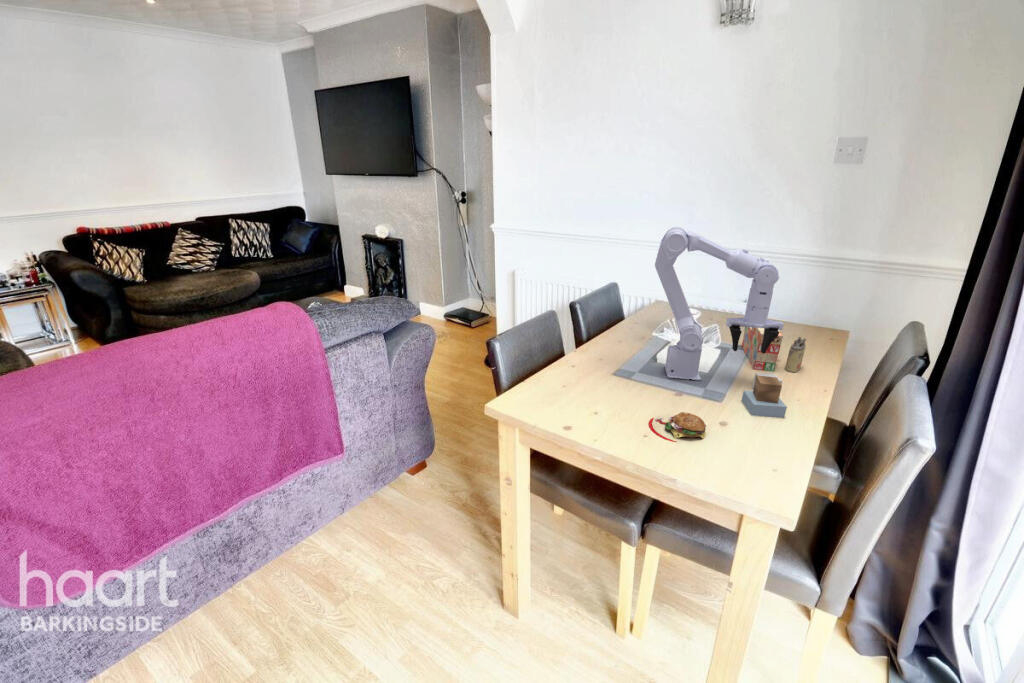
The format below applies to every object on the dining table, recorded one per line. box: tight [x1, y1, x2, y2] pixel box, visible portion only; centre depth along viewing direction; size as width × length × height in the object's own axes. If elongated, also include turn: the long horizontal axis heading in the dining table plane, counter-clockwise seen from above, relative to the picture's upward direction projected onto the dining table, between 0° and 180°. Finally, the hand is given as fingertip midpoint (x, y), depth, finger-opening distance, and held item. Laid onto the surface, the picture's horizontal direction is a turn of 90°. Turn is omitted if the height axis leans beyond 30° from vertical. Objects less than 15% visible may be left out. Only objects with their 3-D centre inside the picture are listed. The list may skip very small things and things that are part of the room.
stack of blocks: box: [741, 327, 784, 373], centre depth 157 cm, size 21×6×12 cm, turn 165°
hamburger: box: [647, 411, 707, 443], centre depth 116 cm, size 14×14×6 cm
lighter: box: [784, 336, 807, 373], centre depth 150 cm, size 7×4×10 cm, turn 137°
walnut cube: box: [752, 375, 783, 403], centre depth 125 cm, size 5×5×5 cm
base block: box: [741, 390, 788, 418], centre depth 126 cm, size 8×8×4 cm
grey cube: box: [751, 372, 783, 390], centre depth 135 cm, size 5×5×5 cm
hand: (748, 351), depth 138 cm, fingers open, 7 cm apart
